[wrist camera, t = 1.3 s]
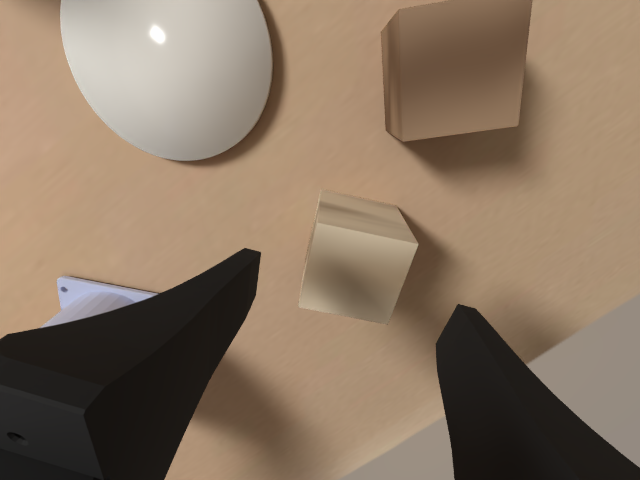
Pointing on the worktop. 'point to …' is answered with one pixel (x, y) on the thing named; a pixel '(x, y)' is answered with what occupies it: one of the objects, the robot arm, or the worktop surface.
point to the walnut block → (454, 67)
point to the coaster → (171, 70)
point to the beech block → (356, 258)
